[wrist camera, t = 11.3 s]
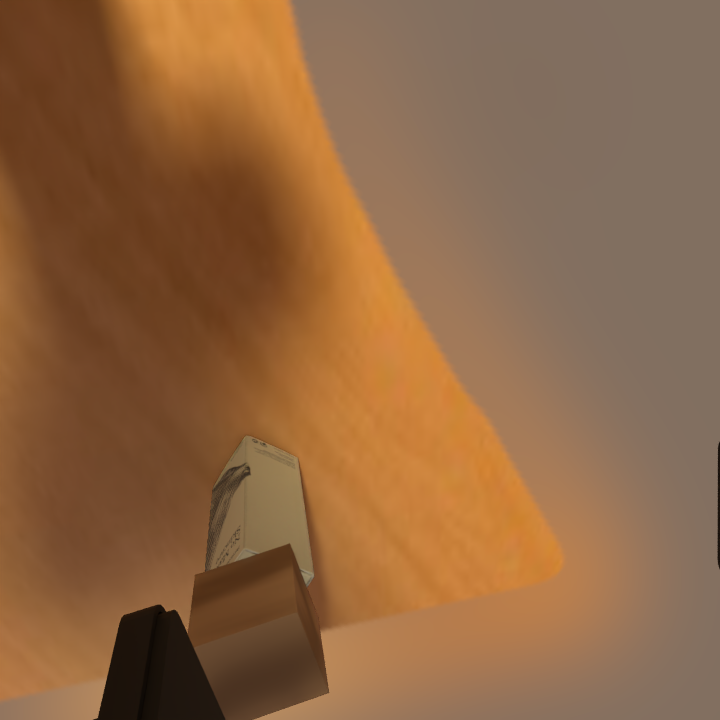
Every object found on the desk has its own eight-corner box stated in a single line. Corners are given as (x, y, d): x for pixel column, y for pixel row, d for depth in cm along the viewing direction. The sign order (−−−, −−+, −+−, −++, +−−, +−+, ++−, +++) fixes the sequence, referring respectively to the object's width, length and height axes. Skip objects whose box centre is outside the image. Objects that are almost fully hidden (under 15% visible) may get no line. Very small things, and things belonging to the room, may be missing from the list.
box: (245, 430, 43) (245, 542, 31) (300, 456, 45) (319, 573, 33) (209, 490, 44) (195, 620, 32) (263, 514, 46) (269, 647, 34)
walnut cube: (195, 574, 32) (185, 650, 27) (290, 543, 32) (297, 612, 27) (228, 647, 33) (225, 729, 29) (317, 616, 34) (328, 692, 29)
